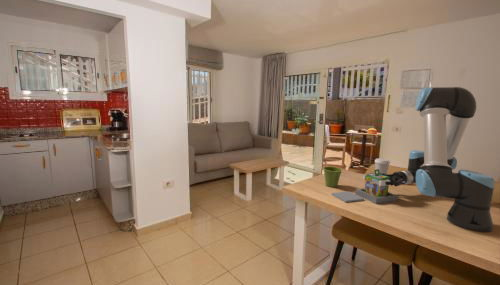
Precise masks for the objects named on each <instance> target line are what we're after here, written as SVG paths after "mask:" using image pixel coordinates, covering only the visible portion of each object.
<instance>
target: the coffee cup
mask: <svg viewBox="0 0 500 285" xmlns="http://www.w3.org/2000/svg"><path fill="white" fill-rule="evenodd" d="M390 163H391V162H390V160H389V159H388V158H380V157H379V158H375V160H374V168H375V169H374V170H376V169H379V172H380V173H386V174H388V171H389V167H390V166H389V165H390ZM376 173H378V171H377V172H376Z"/></svg>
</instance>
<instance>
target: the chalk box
mask: <svg viewBox="0 0 500 285" xmlns="http://www.w3.org/2000/svg"><path fill="white" fill-rule="evenodd" d="M377 171H378V174H376V172H377ZM371 173H372V174H370V173H368V174H365V175H366V180H364V181H365V183H364V188H365V192H366V193H368V194H370V195H373V196H375V197H382V196H388V192H389V188H390V185H386V186H379V182H380V181H383V180H389V179H390V177H388V176H384V175H381V174H380V172H379V169H376V170H375V169H374V172H371Z"/></svg>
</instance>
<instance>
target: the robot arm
mask: <svg viewBox="0 0 500 285" xmlns="http://www.w3.org/2000/svg"><path fill="white" fill-rule="evenodd" d="M414 107H415V111H416V112H419V115H420V116H421V117H422V118H423V150H418V149H417V150H410V152H409V155H408V164H407V170H403V171H402V170H401V171H400V170H399V171H394V172H392V173H391V174H388V173H387V174H386V173H380V174H381V175H384V176H388V177H390V179H389V180H383V181H380V182H379V186H386V185H389V186H393V187H398V186H401V185H405V186H406V185H409V184H416V188H417V190H418V192H419V193H420V194H422V195H424V196H427V197H436V198H444V199H451V200H454V202H453V204H452V205H451V207H450V208H449V210H448V212H447V214H446V220H448V222H450V223H452V224H454V225H455V226H457V227H461V228H464V229H466V230H471V231H476V232H485V233H487V232H488V233H489V232H492V231H493V229H494V221H493V218H492V214H491V207H492V201H493V197H494V196H493V195H494V191H495V181H496V180H495V179H494V178H493V176H490V175H487V174H484V173H482V172H478V171H477V172H476V171H473V170H469V169H468V170H467V169H459V170H458V171H457V172H453V171H454V170H455V169H456V168H457V167H458V166H457V164H458V160H457V158H456V157H455V155H456V152H457V150H458V147H459V145H460V143H461V140H462V138H463V136H464V134H465V131H466V128H467V126H468V123H469V121H470V119H472V118H474V117H475V114H476V112H477V100H476V98H475V96H474V94H473V93H472V92H471V91H470V90H468V89H466V88H465V87H460V86H455V87H454V86H451V87H450V86H449V87H443V86H442V87H439V86H437V87H435V86H434V87H433V86H431V87H423V88H421V90H419V92H418V94H417V97H416V101H415V106H414ZM449 115H450V116H449ZM447 116H449V119H448V121H447V119H446V118H447ZM372 173H373V172H370V173H369V174H372ZM376 174H378V173H376ZM366 175H367V174H364V175H363V181H366Z"/></svg>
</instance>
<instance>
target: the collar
mask: <svg viewBox="0 0 500 285" xmlns="http://www.w3.org/2000/svg"><path fill="white" fill-rule="evenodd" d="M354 192H355V193H354V194H356V195H358V196H360V197H362V198H364V200H367V201H369V202H371V203H373V204H375V205H377V204H378V205H379V204H385V203H392V202H398V199H399V195H397V194H395V193H393V192H389V191H388V196H382V197H375V196H373V195H370V194H368V193H366V192H365V187H363V188H356V189H355V191H354Z"/></svg>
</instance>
